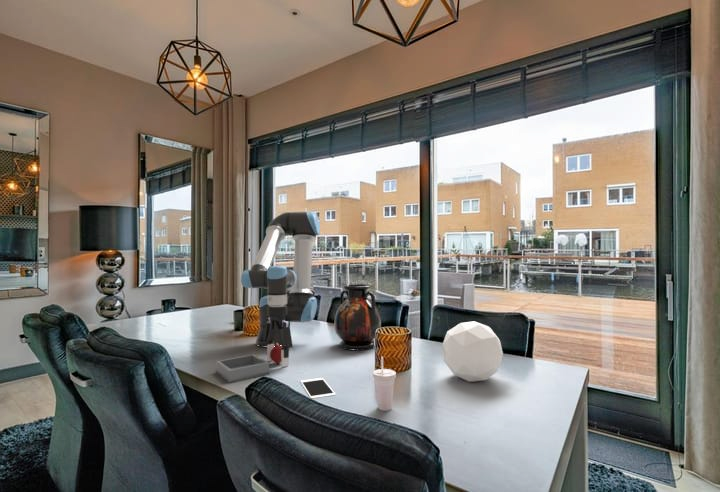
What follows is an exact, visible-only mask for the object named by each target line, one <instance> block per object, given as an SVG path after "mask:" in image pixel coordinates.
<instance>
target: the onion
mask: <svg viewBox="0 0 720 492" xmlns="http://www.w3.org/2000/svg"><path fill="white" fill-rule="evenodd" d="M281 349H282V346H280V345H279V344H278V343H277V344H276V346H275V347H274V348H273V349H272V350H271V352H270V357H271V359H272V360H273V361H272V362H274V364H276V365H279V364H280V363H281ZM278 363H279V364H278Z"/></svg>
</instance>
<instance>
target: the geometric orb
mask: <svg viewBox="0 0 720 492" xmlns="http://www.w3.org/2000/svg"><path fill="white" fill-rule="evenodd" d="M442 342H443V343H442V345H441V346H442V354H443V355H442V356H443V362H444V363H445V365H446V366H447V368H448V369H449V371H450V372H452V374H453V376H454V375H455V377H456V376H457V377H458V378H460V379H462V380H465V381H467V382H468V383H471V382H479V381H482V382H483V381H487V380H489V379H490V378H491V377H492V376H494V375H495V374H496V373H497V372H499V369H500V367H501V363H502V360H503V356H504V351H503V348H502V347H503V346H502V343H501V339H499V337H498V336H497V334H496V333H495V332H494V331H493V329H492V328H491V327H490V326H488V325H487V324H483V323H481V322H477V321H472V320H471V321H467V322H466V321H465V322H460V323H458V324H457V325H455V326H454V327H452V328H450V329H449V330H447V331H446V334H445V336H444V339H443V341H442Z"/></svg>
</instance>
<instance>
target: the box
mask: <svg viewBox="0 0 720 492" xmlns="http://www.w3.org/2000/svg"><path fill="white" fill-rule="evenodd" d="M215 371H216V373H217V374H218V375H219V376H221V378H223V379H224V380H225V381H226V382H228V383H229V384H230V383H235V382H239V381H243V380H247V379H248V380H249V379H252V378H256V376H257V377H262V376H266V375H270V362H268V361H267V360H265V359H263V358H262V357H259V356H258V355H256V354H249V355H242V356H236V357H233V358H227V359H226V358H225V359H222V360H221V359H220V360H216V370H215ZM261 375H262V376H261Z"/></svg>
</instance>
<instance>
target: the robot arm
mask: <svg viewBox="0 0 720 492" xmlns="http://www.w3.org/2000/svg"><path fill="white" fill-rule="evenodd" d="M267 225H268V226H267V227H266V229H265V234H266V235H265V237H264V239H263V241H262V243H261V245H260V248H259V251H258V253H257V255H256V258H255V259H254V262H253V264H252V266H251V268H250V269H245V270H244V271H243V272H241V275H240V276H241V277H240V281H241V282H240V284H241V285H242V287H244V288H248V289H266V290H267V294H266V296H262V297H261V298H260V300H259V306H258V308H259V309H258V310H259V331H258V333H257V336H256V338H255V345H256V344H257V345H259V346H267V348H266V355H267V356H266V357H267V359H266V361H267V362H268V361H270V362H272V361H271V360H272V359H271V357H270V352H271V350H272V349H273V348H274V346H276V344H277V343H278V344H279V345H282V346H281V347H282V349H281V362H280V363H281V364H280V365H281V366H280V367H281V368H284V367H289V365H290V364H289V363H290V362H289V357H290V354H289V353H290V349H291V348H293V340H292V334H291V333H292V332H291V323H309V322H312V321H313V320H314V319H315V317H316V312H317V307H318V300H317V298H316V297H315V296H314V293H313V292H312V291H311V287H312V286H311V283H312V266H313V265H312V264H313V263H312V262H313V245H314V244H313V243H314V242H315V240H316V239H317V236H319V235H320V232H321V226H320V220H319V217H318V214H317V213H316V212H314V211H299V212H297V211H296V212H295V211H294V212H284V213H281V214H279V215H277V216H276V217H275V218H273V219H272V220H271V221H270V222H269V224H267ZM287 236H292V237H291V238H292V239H293V240H294V254H293V255H294V256H293V270H292V269H289V268H287V266H286V265H272V264H273V262H274V259H275V257H276V254H277V253H278V250H279V247H280V244H281V243H282V241H283V240H284V239H285V238H286V237H287ZM291 287H292V289H291V290H290V291H289V292H288V289H290V288H291Z"/></svg>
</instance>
